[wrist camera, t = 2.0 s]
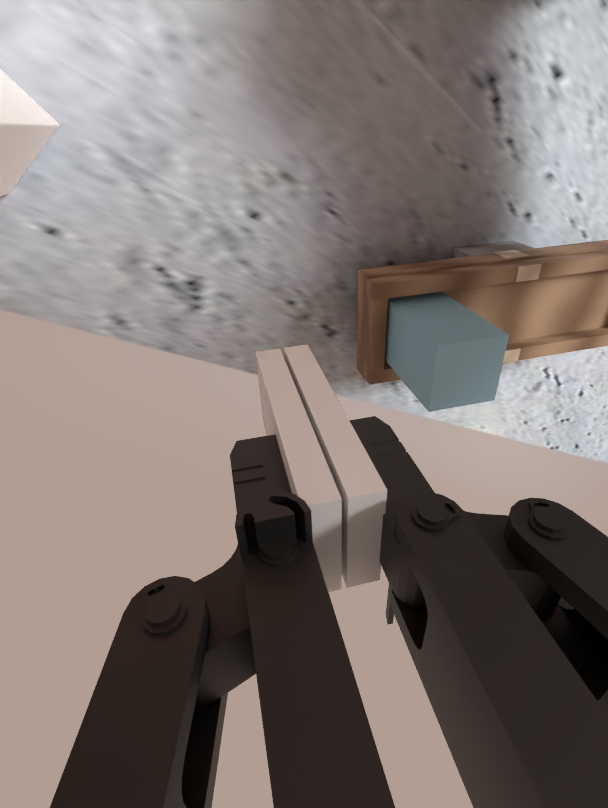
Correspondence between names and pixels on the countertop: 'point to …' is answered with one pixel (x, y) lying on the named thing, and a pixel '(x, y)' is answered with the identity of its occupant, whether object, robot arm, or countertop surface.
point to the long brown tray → (497, 298)
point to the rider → (443, 350)
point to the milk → (20, 132)
